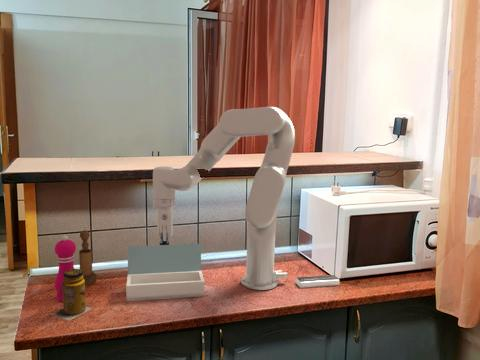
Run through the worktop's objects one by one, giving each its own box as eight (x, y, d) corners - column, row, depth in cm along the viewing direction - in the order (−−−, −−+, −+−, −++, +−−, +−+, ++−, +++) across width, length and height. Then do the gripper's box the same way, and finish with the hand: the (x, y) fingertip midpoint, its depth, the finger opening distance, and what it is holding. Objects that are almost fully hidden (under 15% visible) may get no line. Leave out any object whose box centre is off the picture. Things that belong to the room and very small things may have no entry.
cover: (201, 270, 142) (201, 270, 143) (200, 243, 143) (200, 243, 144) (127, 274, 137) (127, 274, 138) (127, 246, 138) (127, 246, 139)
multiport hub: (295, 283, 147) (295, 277, 146) (333, 280, 150) (334, 274, 150) (299, 288, 143) (300, 282, 142) (339, 286, 146) (339, 279, 145)
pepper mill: (71, 303, 127) (68, 239, 123) (49, 301, 128) (46, 237, 125) (84, 293, 134) (82, 232, 130) (64, 291, 135) (61, 231, 132)
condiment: (92, 308, 124) (91, 270, 122) (69, 321, 116) (67, 280, 114) (74, 303, 127) (72, 265, 125) (50, 315, 120) (48, 275, 118)
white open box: (201, 284, 143) (201, 270, 142) (204, 296, 134) (204, 281, 133) (128, 288, 138) (127, 274, 137) (126, 301, 129) (126, 285, 128)
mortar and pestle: (96, 285, 140) (94, 233, 137) (75, 287, 138) (73, 234, 135) (96, 277, 146) (95, 227, 143) (77, 279, 144) (74, 228, 141)
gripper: (176, 207, 139) (176, 260, 142) (174, 197, 154) (174, 245, 157) (153, 207, 138) (153, 261, 141) (153, 198, 152) (153, 246, 155)
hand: (164, 252), depth 149 cm, fingers closed
